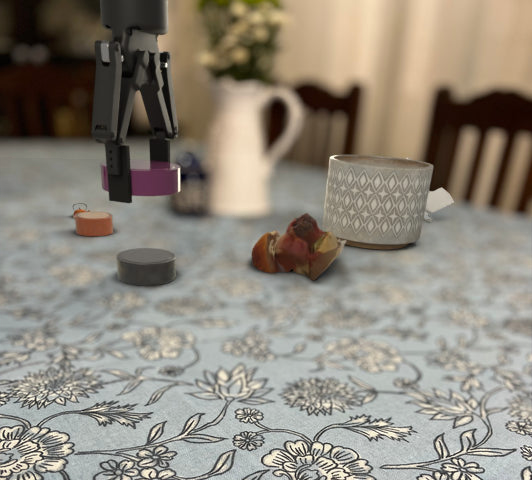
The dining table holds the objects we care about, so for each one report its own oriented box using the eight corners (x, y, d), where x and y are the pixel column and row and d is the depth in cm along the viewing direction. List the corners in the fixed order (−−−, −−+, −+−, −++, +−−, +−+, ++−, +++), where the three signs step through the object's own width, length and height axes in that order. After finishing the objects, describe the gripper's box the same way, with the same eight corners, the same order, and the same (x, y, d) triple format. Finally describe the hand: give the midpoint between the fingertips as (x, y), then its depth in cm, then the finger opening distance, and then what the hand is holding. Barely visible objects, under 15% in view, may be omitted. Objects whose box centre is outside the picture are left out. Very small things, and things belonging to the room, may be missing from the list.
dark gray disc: (106, 280, 70) (104, 258, 69) (135, 265, 77) (134, 244, 76) (159, 289, 69) (159, 267, 67) (185, 272, 76) (184, 252, 74)
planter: (395, 228, 110) (407, 157, 104) (435, 253, 94) (452, 169, 88) (311, 227, 107) (318, 152, 100) (337, 252, 91) (348, 165, 84)
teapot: (77, 214, 104) (76, 201, 103) (91, 216, 104) (90, 202, 103) (70, 217, 102) (68, 203, 101) (84, 219, 101) (82, 205, 100)
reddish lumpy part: (344, 254, 73) (294, 203, 71) (283, 312, 78) (235, 266, 76) (348, 230, 87) (306, 186, 85) (296, 280, 92) (255, 240, 90)
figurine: (402, 253, 121) (436, 225, 127) (427, 223, 110) (463, 194, 116) (357, 209, 123) (393, 184, 129) (378, 176, 113) (415, 150, 118)
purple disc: (86, 189, 65) (83, 164, 63) (127, 179, 73) (126, 156, 72) (159, 199, 62) (158, 173, 61) (192, 187, 71) (192, 164, 70)
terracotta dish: (68, 233, 91) (66, 216, 90) (89, 226, 97) (88, 209, 95) (100, 238, 90) (99, 220, 88) (120, 230, 95) (119, 213, 94)
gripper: (108, -31, 47) (122, 214, 57) (204, 8, 67) (202, 186, 77) (38, -33, 49) (64, 206, 59) (151, 6, 69) (156, 180, 79)
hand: (142, 195), depth 68 cm, fingers closed on purple disc, 10 cm apart
